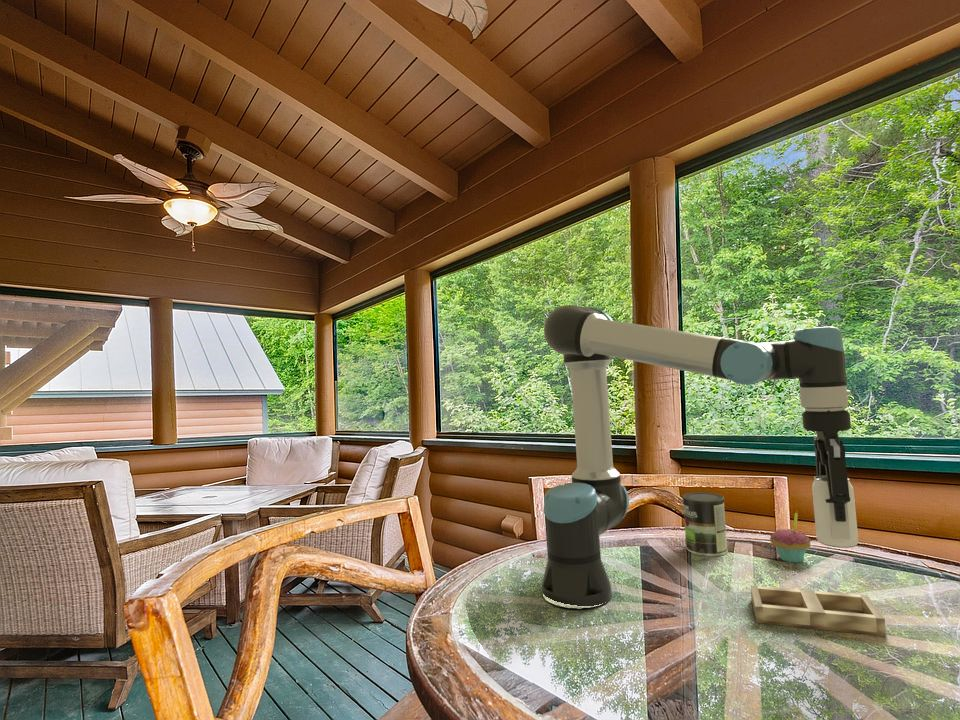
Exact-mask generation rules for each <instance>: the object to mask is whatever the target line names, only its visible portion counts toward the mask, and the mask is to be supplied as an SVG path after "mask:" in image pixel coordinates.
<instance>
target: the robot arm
mask: <svg viewBox="0 0 960 720" xmlns="http://www.w3.org/2000/svg"><path fill="white" fill-rule="evenodd" d="M543 327H544V328H543V334H544V338H545V341H546V343H547V344H548V346H549V347H550V349H552V350H553V351H555V352H557V353H558V354H561V355H563V365H564V366H566V368H568V369H569V371H570V379H571V396H572V409H573V410H572V411H573V423H574V426H573V427H574V436H575V437H574V439H575V441H574V442H575V451H576V469H575V470H574V471H573V472H572V474H571V482H568V483H567V482H566V483H563V484H558V485H555V486H553V487H551V488H549V489H548V490H547V491H546V493H545V494H544V501H543V502H544V503H543V515H544V523H545V525H544V527H545V537H546V538H545V539H546V551H547V553H546V554H547V561H546V562H547V563H546V566H545V569H544V573H543V578H542V583H541V593H542V592H543V594H544V595H545V596H546V597H548V598H550V599H552V600H554V601H557V602H561V603H564V604H570V605H577V606H594V605H599V604H602V603H605V602H607V601H608V602H610V601H611V599H612V597H613V595H612V585H611V581H610V578H609V577H608V574H607V571H606V569H605V566H604V564H603V561H602V556H601V555H602V554H601V542H600V536H601V535H603V534H604V533H605V532H607V531H608V530H611V529H613V528H614V527H617V526H618V525H619V524H620V523H621V522H622V520H623V519H624V518H625V517H626V515H627V514H628V511H629V507H630V497H629V493H628V491H627V488H626V487H625V486H624V485H623V484H622V481H621V473H620V472H619V471H618V470H617V469H616V468H615V467H614V461H613V458H614V457H613V446H612V443H613V442H612V432H611V431H612V430H611V418H610V405H609V404H610V403H609V392H608V391H609V388H608V374H607V368H608V366H610V364H611V363H612V362H613V358H618V359H622V360H628V361H632V362H638V363H643V364H648V365H653V366H657V367H663V368H668V369H674V370H678V371H683V372H684V371H685V372H689V373H694V374H699V375H705V376H710V377H715V378H719V379H723V380H728V381H732V382H733V383H736V384H739V385H747V386H749V385H750V386H751V385H755V384H758V383H760V382H764V381H776V380H778V381H779V380H794V379H798V381H799V382H798V383H799V384H798V385H799V387H798V388H799V389H798V390H799V398H800V399H799V400H800V407H801V408H803V409H804V410H803V411H802V412H801V415H802V417H801V419H802V426H803V430H805V431H809V432H816V436H813V438H812V441H813V447H814V457H815V468H816V469H815V470H816V476H821V475H826V477H827V483H828V489H829V496H830V498H829V499H826V500H825V501H826V503H829V513H830V524H831V535H832V538H833V539H850V529H849V518H848V507H847V502H850V496H849V487H848V478H849V477H848V472H847V471H848V469H847V463H846V447H845V445H844V442H843V440H840V438H839V434H838V433H839V432H846V431H849V430H850V429H851V428H852V423H851V415H850V411H849V409H846V408H847V407H849V397H848V396H851V395H852V391H851V390H849V389H848V387H847V385H848V384H847V371H846V369H847V368H846V358H845V348H844V343H843V337H842V331H841V330H840V329H839V328H838V327H835V326H819V327H809V328H802V329H797V330H796V331H795V333H794V337H793V339H790V340H786V341H771V342H757V341H756V342H755V341H751V340H740V339H733V338H729V337H723V336H722V337H720V336H714V335H709V334H708V335H707V334H702V333H695V332H689V331H683V330H677V329H670V328H663V327H656V326H651V325H645V324H637V323H631V322H626V321H625V322H623V321H617V320H613V318H612V317H611V316H610V315H609V314H608V313H607V312H604V311H602V310H600V309H598V308H595V307H586V306H579V305H574V304H566V305H563V306H559V307H556V309H554V310H553V311H551V313H550V314H549V315H547V318H546V319H545V322H544V326H543ZM838 494H842V495H838ZM608 602H607V603H608Z"/></svg>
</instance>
